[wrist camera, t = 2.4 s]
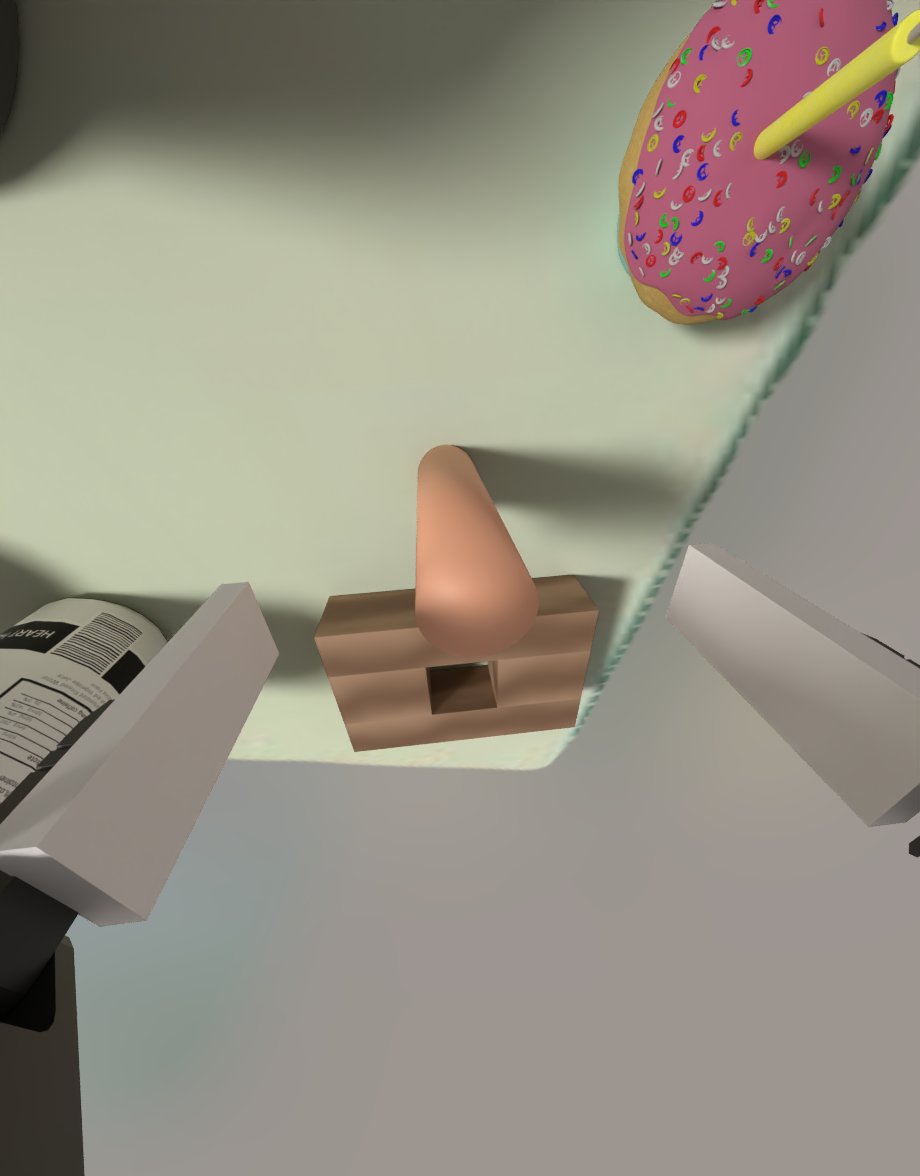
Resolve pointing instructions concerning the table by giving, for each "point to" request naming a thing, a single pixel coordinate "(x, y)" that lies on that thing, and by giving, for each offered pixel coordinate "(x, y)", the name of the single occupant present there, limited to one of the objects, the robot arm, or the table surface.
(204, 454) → the table surface
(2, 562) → the table surface
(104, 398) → the table surface
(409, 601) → the hole block
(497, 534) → the dowel pin
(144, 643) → the supplement can
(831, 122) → the cupcake
